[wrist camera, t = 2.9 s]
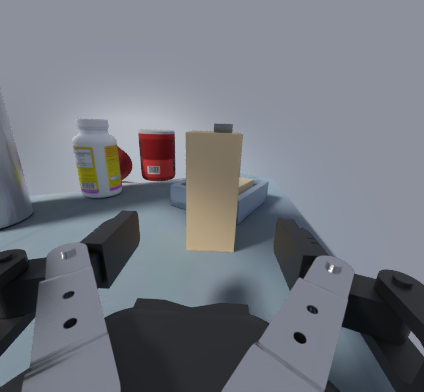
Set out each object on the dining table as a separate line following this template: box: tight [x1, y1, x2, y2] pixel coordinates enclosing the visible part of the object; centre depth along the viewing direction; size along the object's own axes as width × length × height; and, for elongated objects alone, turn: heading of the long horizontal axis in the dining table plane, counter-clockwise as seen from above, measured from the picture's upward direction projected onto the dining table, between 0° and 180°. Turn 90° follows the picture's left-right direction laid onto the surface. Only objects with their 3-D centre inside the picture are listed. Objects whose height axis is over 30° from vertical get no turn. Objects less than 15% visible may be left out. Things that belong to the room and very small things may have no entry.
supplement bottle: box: [72, 119, 122, 198], centre depth 36 cm, size 7×7×13 cm
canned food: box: [139, 130, 175, 181], centre depth 49 cm, size 8×8×11 cm
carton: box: [186, 124, 243, 252], centre depth 22 cm, size 5×5×13 cm
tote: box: [170, 177, 269, 225], centre depth 35 cm, size 12×12×4 cm
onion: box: [117, 146, 132, 181], centre depth 45 cm, size 6×6×8 cm
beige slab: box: [238, 177, 254, 196], centre depth 35 cm, size 8×8×3 cm
